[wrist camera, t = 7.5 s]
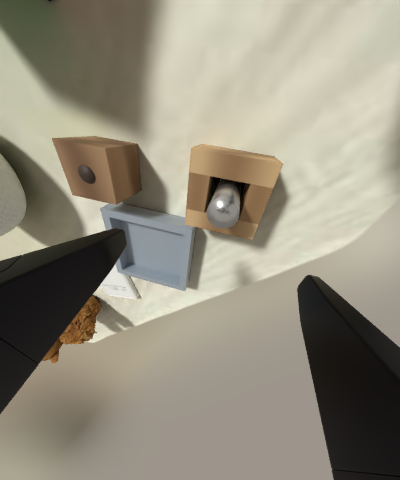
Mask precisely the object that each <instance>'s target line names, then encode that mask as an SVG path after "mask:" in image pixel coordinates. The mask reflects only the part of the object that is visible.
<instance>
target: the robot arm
mask: <svg viewBox="0 0 400 480" xmlns="http://www.w3.org/2000/svg"><path fill="white" fill-rule="evenodd" d="M126 245H127V240H126V235H125V231H124V230H123V229H119V228H113V229H110V230H106V231H103V232H100V233H96V234H93V235H89V236H86V237H82V238H79V239H75V240H72V241H68V242H65V243H61V244H58V245H54V246H51V247H47V248H44V249H41V250H37V251H34V252H30V253H27V254H24V255H20V256H16V257H13V258H9V259H6V260H2V261H0V414H1V412H2V411H3V410H4V409H5V407H6V406H7V405H8V403H9V402H10V401H11V400H12V398H13V397H14V396H15V394H16V393H17V392H18V391H19V389H20V388H21V387H22V385H23V384H24V382H25V381H26V380H27V379H28V378H29V376H30V375H31V374H32V372H33V371H34V370H35V369H36V367H37V366H38V364H39V363H40V362H41V361H42V359H43V358H44V357H45V355H46V354H47V353H48V352H49V350H50V349H51V348H52V346H53V345H54V344H55V343H56V341H57V340H58V339H59V337H60V336H61V335H62V334H63V332H64V331H65V330H66V328H67V327H68V326H69V324H70V323H71V322H72V321H73V319H74V318H75V317H76V315H77V314H78V313H79V312H80V310H81V309H82V308H83V306H84V305H85V304H86V303H87V301H88V300H89V299H90V297H91V296H92V295H93V293H94V292H95V291H96V290H97V288H98V287H99V286H100V284H101V283H102V282H103V281H104V279H105V278H106V277H107V275H108V274H109V273H110V271H111V270H112V268H113V267H114V265H115V264H116V262H117V261H118V259H119V257H120V256H121V254H122V252H123V251H124V249H125V248H126ZM297 291H298V302H299V313H300V322H301V327H302V332H303V337H304V341H305V346H306V351H307V355H308V360H309V364H310V370H311V374H312V379H313V383H314V388H315V393H316V397H317V402H318V407H319V412H320V416H321V421H322V425H323V431H324V435H325V440H326V445H327V449H328V454H329V459H330V463H331V468H332V473H333V478H334V480H400V347H398V346H397V345H396V344H395V343H394V342H393V341H392V340H390V339H389V338H388V337H387V336H386V335H385V334H384V333H382V332H381V331H380V330H379V329H378V328H377V327H376V326H374V325H373V324H372V323H371V322H370V321H369V320H367V319H366V318H365V317H364V316H363V315H362V314H360V313H359V312H358V311H357V310H356V309H355V308H354V307H353V306H351V305H350V304H349V303H348V302H347V301H346V300H344V299H343V298H342V297H341V296H340V295H339V294H338V293H336V292H335V291H334V290H333V289H332V288H331V287H329V286H328V285H327V284H326V283H325V282H324V281H323V280H321V279H320V278H319V277H317V276H312V275H307V276H306V277H305V278H304V279H303V281H302V282H301V283H300V284H299V286H298V289H297Z"/></svg>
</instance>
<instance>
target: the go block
mask: <svg viewBox="0 0 400 480" xmlns="http://www.w3.org/2000/svg"><path fill="white" fill-rule="evenodd" d="M282 165H283V163H281V162H280V161H279V160H278V159H277V158H275V157H274V156H268V155H263V154H257V153H251V152H245V151H239V150H234V149H228V148H222V147H216V146H210V145H205V144H201V145H198V146H195V147H192V148H191V157H190V169H189V181H188V194H187V206H186V218H185V225H189V226H194V227H198V228H203V229H207V230H211V231H216V232H220V233H224V234H229V235H233V236H237V237H242V238H246V239H250V240H252V239H253V237H254V234H255V232H256V229H257V227H258V224H259V222H260V219H261V217H262V215H263V212H264V210H265V207H266V205H267V202H268V200H269V197H270V195H271V192H272V190H273V188H274V185H275V183H276V180H277V178H278V175H279V173H280V170H281V168H282ZM215 177H217V178H223V179H228V180H233V181H238V182H243V183H246V185H245V189H244V192H243V195H242V199H241V202H240V211H239V219H238V221H237V222H236V224H235V225H233V226H232V227H229V228H225V229H221V228H217V227H215V226H213V225H212V224H211V223H210V222H209V220H208V218H207V208H208V206H209V204H210V202H211V199H212V198H211V195H212V189H213V184H214V178H215Z"/></svg>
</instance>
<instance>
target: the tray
mask: <svg viewBox="0 0 400 480" xmlns="http://www.w3.org/2000/svg"><path fill="white" fill-rule="evenodd" d="M100 209H101V213H102V217H103V220H104V224H105V228H106V230H110V229H113V228H119V229H123V230H124V231H125V235H126V240H127V245H126V248H125V249H124V251H123V252H122V254H121V256H120V257H119V259H118V261H117V262H116V268H117V271H118V273H121V274H125V275H128V276H132V277H136V278H139V279H143V280H147V281H150V282H154V283H157V284H161V285H165V286H168V287H172V288H176V289H179V290H183V291H185V290H186V287H187V284H188V282H189V277H190V269H191V262H192V254H193V246H194V239H195V231H196V227H194V226H189V225H185V218H184V217H180V216H175V215H171V214H166V213H162V212H157V211H153V210H149V209H144V208H140V207H135V206H131V205H126V204H122V203H119V204H117V205H115V204H110V203H109V204H107V205H106V206H104V207H102V208H100Z"/></svg>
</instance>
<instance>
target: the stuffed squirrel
mask: <svg viewBox="0 0 400 480" xmlns="http://www.w3.org/2000/svg"><path fill="white" fill-rule="evenodd" d="M100 307H101V304H100V301H98V300H97V299H96V298H95V297H94V296H91V297H90V299H89V300H88V301H87V303H86V304H85V305H84V306H83V308H82V309H81V310H80V312H79V313H78V314H77V315H76V317H75V318H74V319H73V321H72V322H71V323H70V324H69V326H68V327H67V328H66V330H65V331H64V332H63V334H62V335H61V336H60V337H59V339H58V340H57V341H56V343H55V344H54V345H53V346H52V348H51V349H50V350H49V352H48V353H47V354H46V355H45V357H44V358H43V359H42V361H45V360H48V359H50V360H51V361H52V362H53V363H56V362H57V361H58V357H59V349H60V347H61V346H62V344H63V343H64V344H73V343H74V344H81V343H84V342H83V341H89V340H90V339H92V338H93V334H94V333H97V332H95V330H94V328H95V326H96V325H95V323H96V315H97V314H98V312H99V311H100Z"/></svg>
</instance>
